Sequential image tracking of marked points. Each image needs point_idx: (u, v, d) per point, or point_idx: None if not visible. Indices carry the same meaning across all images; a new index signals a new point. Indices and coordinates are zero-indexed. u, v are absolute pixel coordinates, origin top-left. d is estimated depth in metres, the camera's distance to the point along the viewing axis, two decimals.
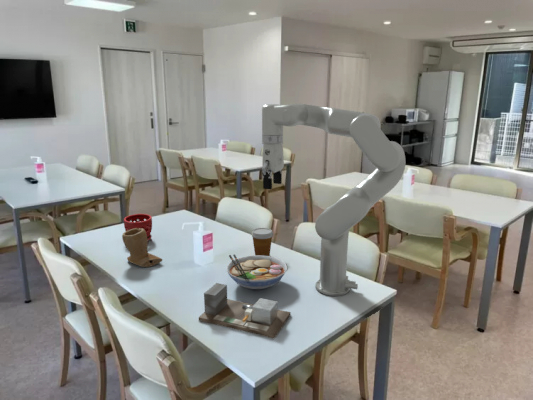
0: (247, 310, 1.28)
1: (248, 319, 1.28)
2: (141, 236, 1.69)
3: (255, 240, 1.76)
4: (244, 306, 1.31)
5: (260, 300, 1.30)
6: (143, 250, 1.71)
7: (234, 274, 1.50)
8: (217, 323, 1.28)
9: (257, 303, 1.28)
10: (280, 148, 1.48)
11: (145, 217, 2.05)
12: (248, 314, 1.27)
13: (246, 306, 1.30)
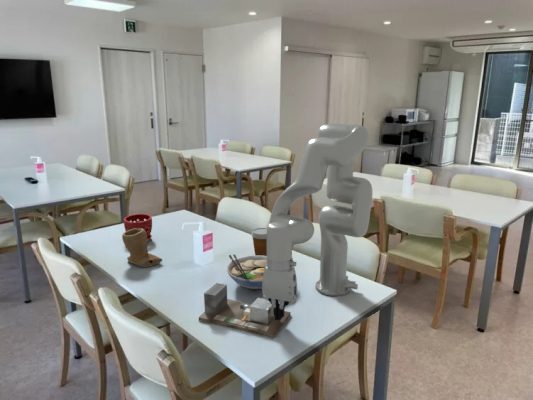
0: (246, 310, 1.28)
1: (247, 319, 1.28)
2: (141, 236, 1.69)
3: (255, 240, 1.76)
4: (242, 306, 1.31)
5: (258, 300, 1.31)
6: (143, 250, 1.71)
7: (234, 274, 1.50)
8: (217, 323, 1.28)
9: (255, 303, 1.29)
10: None
11: (145, 217, 2.05)
12: (248, 314, 1.27)
13: (244, 306, 1.31)
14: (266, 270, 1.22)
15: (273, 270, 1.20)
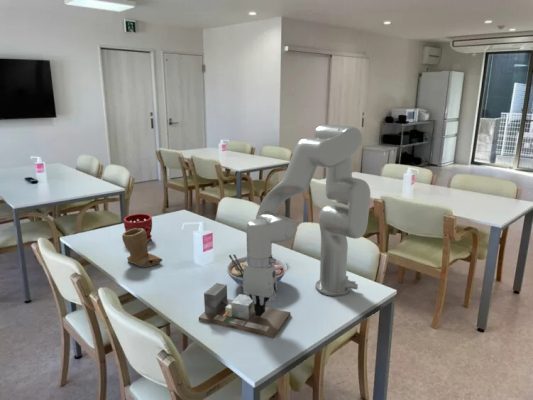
0: (228, 306, 1.31)
1: (229, 315, 1.30)
2: (141, 236, 1.69)
3: None
4: (224, 302, 1.33)
5: (239, 296, 1.33)
6: (143, 250, 1.71)
7: (234, 274, 1.50)
8: (217, 323, 1.28)
9: (236, 299, 1.31)
10: None
11: (145, 217, 2.05)
12: (229, 310, 1.30)
13: (226, 302, 1.33)
14: (246, 267, 1.25)
15: (253, 267, 1.22)
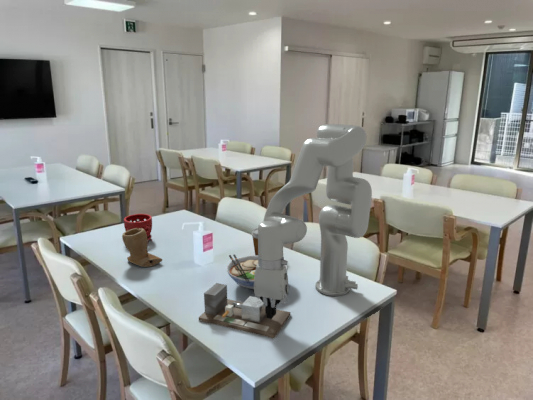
0: (227, 306, 1.31)
1: (228, 315, 1.30)
2: (141, 236, 1.69)
3: (255, 240, 1.76)
4: (234, 304, 1.32)
5: (250, 298, 1.32)
6: (143, 250, 1.71)
7: (234, 274, 1.50)
8: (217, 323, 1.28)
9: (247, 301, 1.30)
10: None
11: (145, 217, 2.05)
12: (228, 310, 1.30)
13: (236, 304, 1.32)
14: (257, 269, 1.23)
15: (264, 269, 1.21)
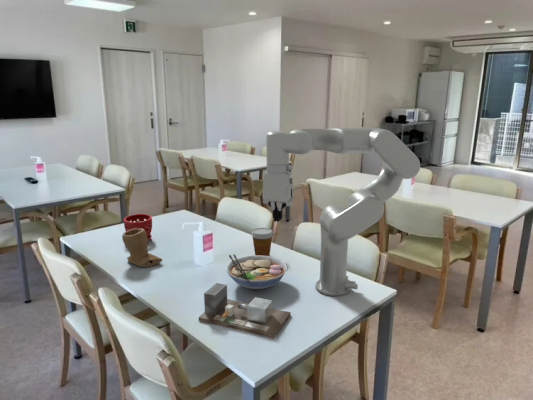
0: (227, 306, 1.31)
1: (228, 315, 1.30)
2: (141, 236, 1.69)
3: (255, 240, 1.76)
4: (239, 305, 1.31)
5: (255, 299, 1.31)
6: (143, 250, 1.71)
7: (234, 274, 1.50)
8: (217, 323, 1.28)
9: (252, 302, 1.29)
10: None
11: (145, 217, 2.05)
12: (228, 310, 1.30)
13: (241, 305, 1.31)
14: (266, 174, 1.38)
15: (272, 173, 1.35)
